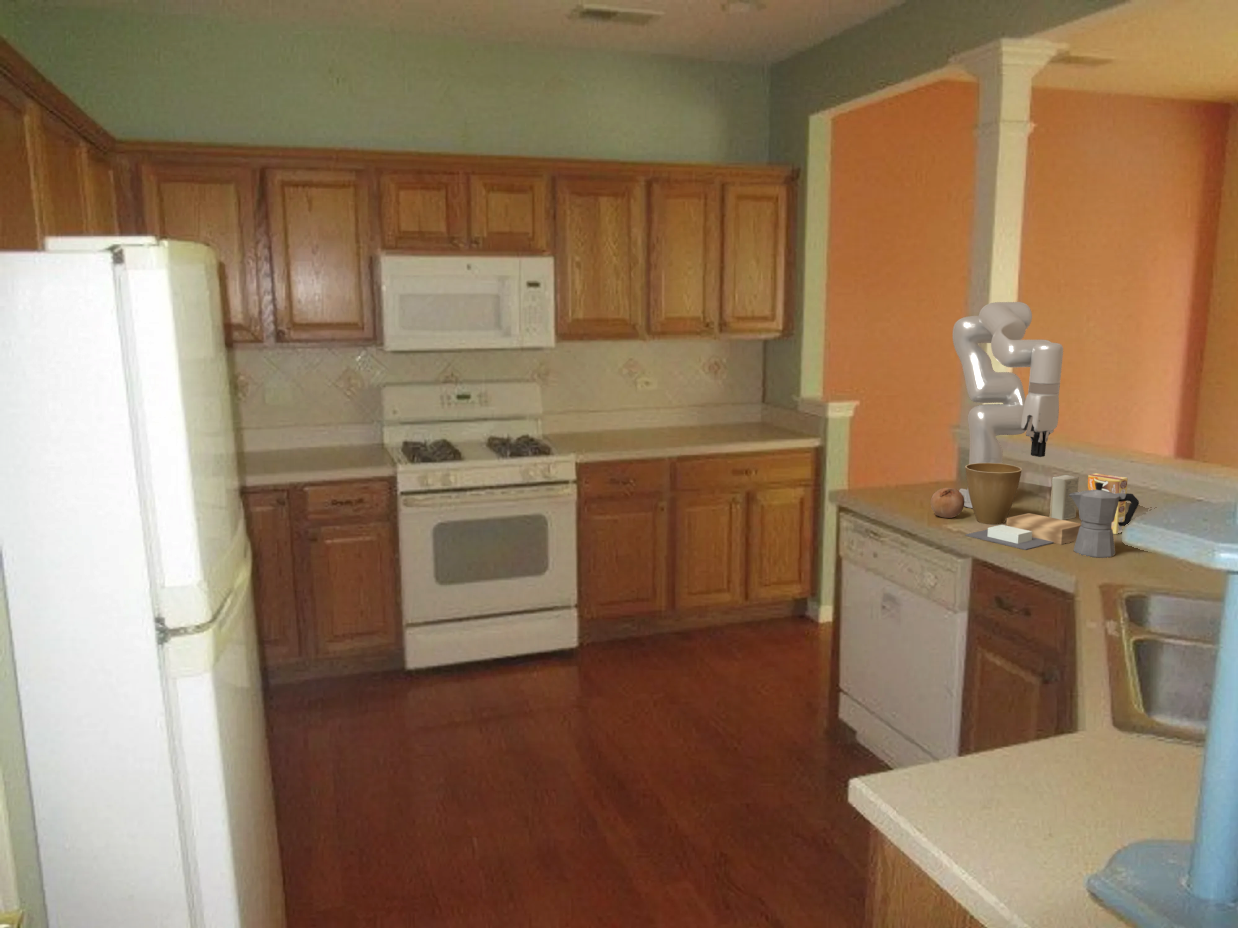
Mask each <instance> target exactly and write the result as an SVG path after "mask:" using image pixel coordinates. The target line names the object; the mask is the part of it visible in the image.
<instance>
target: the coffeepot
mask: <svg viewBox="0 0 1238 928" xmlns="http://www.w3.org/2000/svg"><path fill="white" fill-rule="evenodd" d="M1102 487H1103V483H1100V482H1099V483H1096V488H1097V489H1096V490H1081V491H1078V492H1075V493H1070V494H1069V496H1070V497H1072V499H1073V500H1074V502H1075V504H1076V506H1077V507H1076V508H1077V509H1078V515H1079V517H1078V518H1079V519H1080V520H1081V522H1080V524H1081V526H1080V528H1079V532H1078V535H1077V539H1076V541H1075V543H1074V546H1073V552H1074V553H1076V554H1077V553H1079V554H1078V555H1080V554H1081V555H1080V556H1083V555H1086V556H1085V557H1088V556H1090V557H1089V558H1097V559H1098V558H1099V559H1100V558H1102V559H1103V558H1104V559H1105V558H1106V559H1107V557H1108V558H1112V557H1114V556H1115V554H1116V551H1115V550H1116V549H1115V548H1116V547H1115V541H1114V539H1115V538H1114V534H1113V530H1112V529H1111V524H1112V522H1113V521H1114V518H1115V514H1116V510H1117V506H1118V502H1119V501H1126V502H1130V504H1129V506H1128V509H1127V512H1125V520H1124V522H1118V524H1119V526H1124V527H1126V526H1125V525H1126V524H1128V523H1129V522H1130V523H1131V520H1132V518H1133V516H1134V514H1135V513H1136V510H1137V509H1138V507H1139V504H1140V500H1139V499H1138V498H1137V497H1136V496H1135V494H1133V493H1126V494H1125V493H1115V494H1114V493H1111V492H1108V491H1104V490H1102ZM1130 523H1129V524H1130ZM1129 524H1128V525H1129ZM1111 556H1112V557H1111Z"/></svg>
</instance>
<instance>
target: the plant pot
mask: <svg viewBox="0 0 1238 928" xmlns="http://www.w3.org/2000/svg"><path fill="white" fill-rule="evenodd" d="M964 467H965V476H966V477H965V478H966V484H967V489H968V491H969V496H970V500H971V504H972V508H971V509H972V510H973V514H974V517H975V519H976V521H977V522H978V523H980V524H986V525H1003V524H1004V523H1006V522H1005V521H1007V518H1008V515H1009V513H1010V511H1011V509H1012V505H1013V504H1014V502H1015V501H1014V500H1015V498H1016V494H1017V491H1018V488H1019V484H1020V481H1021V475H1022V471H1023V468H1022V467H1021V466H1020V467H1019V466H1016V465H1014V464H1009V463H1003V462H1002V463H974V464H969V463H968V464H966V465H965V466H964Z"/></svg>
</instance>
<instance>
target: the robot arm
mask: <svg viewBox="0 0 1238 928" xmlns="http://www.w3.org/2000/svg"><path fill="white" fill-rule="evenodd" d="M1032 319H1033V313H1032V310H1031V307H1030V306H1029V305H1028V304H1027V303H1024V302H1022V301H997V302H994V301H993V302H990V303H987V304H986V305H984V306H983V307H982V308H981V309H980V311H979V314H978V315H972V316H971V315H970V316H969V315H968V316H964V317H962V318H959V319H958V320H957V321H955V322H954V325H953V327H952V343H953V347H954V350H955V352H956V355H957V356H958V359H959V361H960V364H961V368H962V372H963V376H964V381H965V386H966V387H965V388H966V391H967V395H968V398H969V400H970V401H971V402H973V403H976V404H977V403H979V404H980V405H975V406H973V407H972V408H971V409H970V410H969V412H968V415H967V424H968V432H969V454H968V465H969V464H974V463H1002V464H1003V457H1004V454H1003V453H1004V449H1003V447H1002V445H1001V443H1000V442H999V440H998V439H997V437H996V436H1017V435H1019V436H1020V435H1022V434H1024V433H1025V436H1026V437H1029V438H1030V442H1031V447H1030V448H1031V449H1030V456H1032V457H1038V458H1044V457H1045V456H1046V450H1047V449H1046V448H1047V442H1048V440H1049V436H1050V435H1052V434H1053V433H1054V431H1055V429H1056V428H1057V427H1058V423H1059V415H1060V414H1059V413H1060V412H1059V410H1060V386H1061V378H1062V368H1063V357H1064V347H1063V345H1062V344H1061V343H1057V342H1051V341H1050V340H1048V339H1023V338H1024V336H1025V334H1026V330H1027V329H1028V328H1029V326H1030V325H1031V323H1032ZM979 344H990V348H991V354H992V356H993V357H994V359H996V361H997V362H998V363H1000V364H1001V365H1002V366H1004V367H1006V368H1030V370H1029V380H1028V381H1029V382H1028V388H1027V389H1028V394H1025V391H1024V385H1023V381H1022V380H1021V378H1020V377H1019V376H1018V375H1017V374H1015V373H1014V372H1009V371H1000V372H998V371H995V369H994V368H993V363H992V359H991V356H989V354H988V353H987V351H985V350H984V349H983V348H982V347H981V346H979ZM1025 395H1026V396H1025ZM1000 403H1001V404H1000ZM958 491H959V492H960V493H961V494H962V495H963V497H964V501H965V502H964V507H967V508H969V509H973V508H972V504H971V500H970V496H969V491H968V488H967V489H966V488H959V490H958Z"/></svg>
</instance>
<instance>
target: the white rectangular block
mask: <svg viewBox="0 0 1238 928" xmlns="http://www.w3.org/2000/svg"><path fill="white" fill-rule="evenodd" d="M987 529H988V535H987V537H992V538H996V539H1000V540H1004V541H1009V542H1013V543H1017V544H1018V543H1023V542H1027V541H1031V540H1032V531H1028V530H1024V529H1019V528H1015V527H1010V526H1006V525H1005V524H997V525H995V526H991V527H987Z"/></svg>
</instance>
